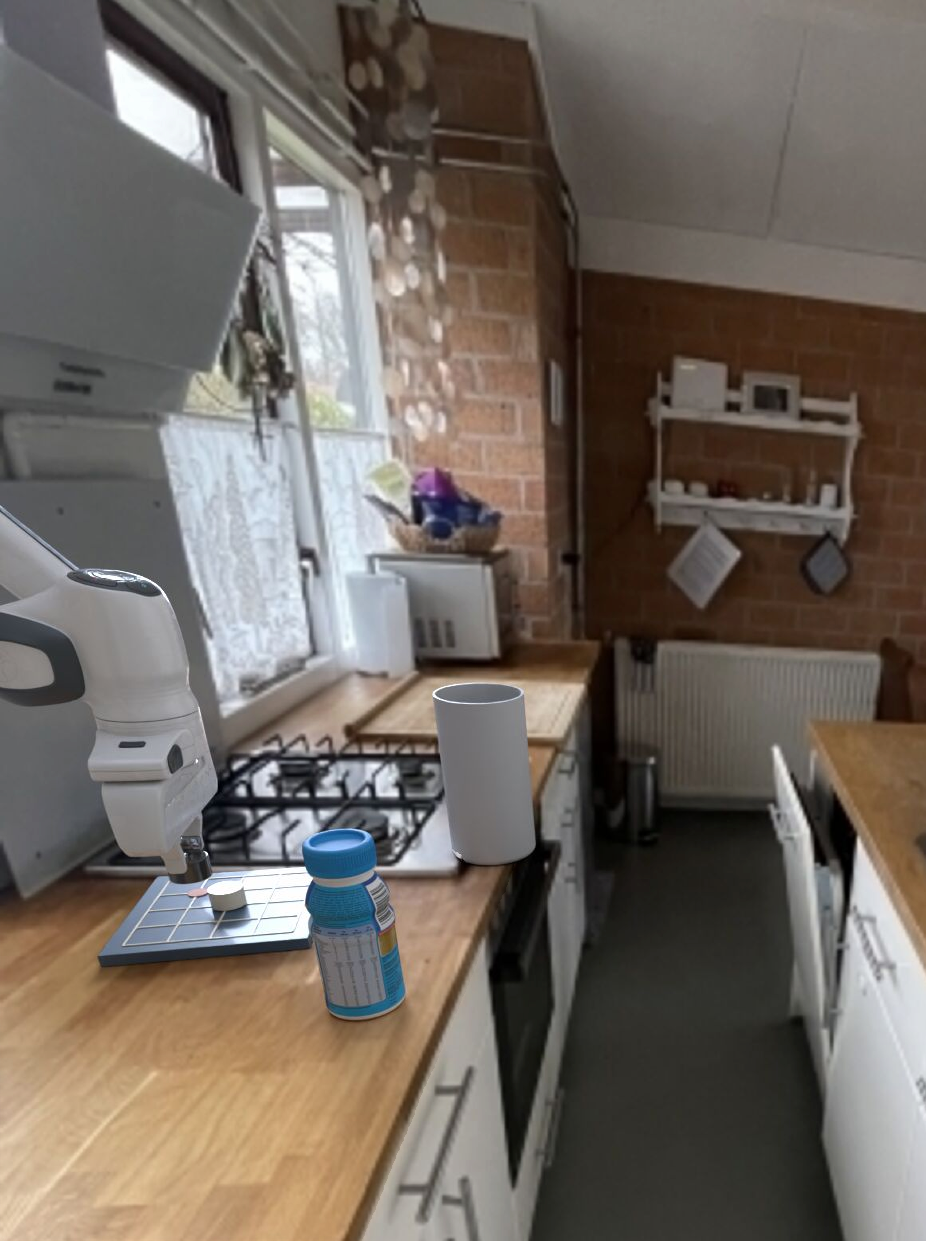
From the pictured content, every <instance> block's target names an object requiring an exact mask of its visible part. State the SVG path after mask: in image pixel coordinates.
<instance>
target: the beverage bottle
mask: <svg viewBox="0 0 926 1241" xmlns="http://www.w3.org/2000/svg"><path fill="white" fill-rule="evenodd" d="M375 844H376V843H375V840H374V838H373V836H372V835H371V834H370V833H369V832H367V831H365V830H362V829H356V828H335V829H329V830H325V831H321V832H317V833H314V834H312V835H310V836H308V837H307V838H306V839H304V840H303V841H302V844H301V853H302V859H303V863H304V867H306V871H307V872H308V874H309V876H311V877H312V878H313V879H312V881H311V883H310V885H309V887H308V889H307V892H306V897H305V907H306V910H307V911H308V912H309V913H310V914H311V915H310V917H309V920H308V928H309V933H310V935H311V936H312V939H313V941H312V944H313V947H314V948H313V949H314V952H315V957H316V962H317V966H318V970H319V975H320V980H321V984H322V990H323V993H324V1000H325V1005H326V1008H327V1011H328V1012H329V1013H330V1014H331V1015H333V1016H334V1017H336V1018H339V1019H342V1020H346V1021H365V1020H370V1019H376V1018H378V1017H381V1016H383V1015H386V1014H388V1013H390V1012H392V1011H393V1010H396V1008H398V1007H399V1006H400V1005H401V1004H402V1002H404V999H405V997H406V994H407V993H406V991H407V990H406V986H405V982H404V975H403V969H402V968H403V967H402V963H401V955H400V948H399V942H398V936H397V935H398V934H397V931H396V930H397V929H396V914H395V910H394V908H393V907H392V905H391V904H390V902H389V901H390V899H391V891H390V889H389V887H388V885H387V883H386V882H385V880H384V879H383V877H382V876H381V875H380V874H379V873H378V872H377V871H376V870H375V869H376V867H377V863H378V858H377V850H376V846H375Z"/></svg>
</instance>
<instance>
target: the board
mask: <svg viewBox="0 0 926 1241" xmlns="http://www.w3.org/2000/svg"><path fill="white" fill-rule="evenodd" d="M212 873H213V874H212V876H211V877H210V878H208V879H206V880H204V881H201V882H198V883H193V884H175V883H172V882H171V881H170V879H169V875H161V876H156V878H155V879H154V881H153V882H152V883H151V885H150V886H149V888H148V889H147V890H145V892H144V893H143V895H142V896H141V898H139V900H138V901H137V903H136V905H135V906H133V908H132V910H131V911H130V912H129V913H128V915H127V916H126V918H124V920H123V921H122V923H121V924H120V925H119V926H118V928H117V929H116V931H115V932H114V933H113V934H112V936H111V937H110V938H109V939H108V941H107V942H106V944H105V945H104V947H103V948H102V949H101V950H100V952H99V953H98V955H97V960H98V963H99V966H100V967H101V968H104V967H115V966H116V967H117V966H125V965H126V966H127V965H138V964H139V965H140V964H149V963H151V964H152V963H160V962H173V961H182V960H194V959H206V958H207V959H208V958H216V957H217V958H218V957H228V956H229V957H230V956H237V955H238V956H240V955H250V954H251V955H252V954H263V953H274V952H284V951H295V950H297V951H298V950H306V949H307V950H308V949H311V947H312V944H313V939H312V936H311V935H310V933H309V928H308V920H309V917H310V915H311V914H310V913H309V912H308V911H307V910H306V907H305V897H306V892H307V889H308V887H309V885H310V883H311V881H312V879H313V878H312V877H311V876H309V874H308V872H307V871H306V867H305V866H303V867H302V866H301V867H288V868H287V867H286V868H273V869H272V868H271V869H255V870H254V869H253V870H242V871H241V870H240V871H239V870H238V871H226V872H223V871H222V872H212ZM227 881H236V882H240V883H242V884H243V886H244V890H245V894H246V898H247V903H246V904H245V905H244V906H242V907H240V908H237V909H234V910H229V911H217V910H214V909H212V907H211V904H210V900H209V896H208V892H207V890H208V888H209V887H211V886H212V885H215V884H218V883H221V882H227Z"/></svg>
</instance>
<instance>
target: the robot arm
mask: <svg viewBox="0 0 926 1241" xmlns="http://www.w3.org/2000/svg"><path fill="white" fill-rule="evenodd" d="M0 585H1V586H2V588H4V589H5V590H7V591H8V592H10V594H12V595H13V596H14V597H16V598H17V599H19V600H16V601H12V602H9V603H5V604H0V700H3V701H5V702H8V703H10V704H12V705H16V706H20V707H28V708H33V707H34V708H35V707H50V706H55V705H61V704H66V703H71V702H83V703H86V704H87V705H88V706H90V708H91V711H92V713H93V718H94V720H95V724H96V728H97V730H96V731H95V741H94V745H93V747H92V751H91V752H90V754H89V757H88V758H87V770H88V773H89V776H90V779H91V780H92V781H93V782H102V784H101V789H100V790H101V799H102V802H103V806H104V809H105V813H106V816H107V819H108V822H109V824H110V827H111V830H112V833H113V835H114V838H115V841H116V843H117V845H118V847H119V848H120V849H121V851H122V852H123V853H124V854H125V855H126V856H127V857H130V858H147V857H161V859H162V860H163V863H164V866H165V871H166V872H167V874H168V873H170V874H183V873H185V872H186V871H187V869H188V867H189V866H190V863H189V860H188V855H187V853H184V852H183V851H187V850H201V851H203V848H204V847H205V842H204V838H203V813H202V811H203V810H204V809H205V807H206V806H207V805H208V804H209V802H210V801H211V800H212V798H213V797H214V796H215V794H216V793H217V792H218V785H219V784H218V775H217V773H216V768H215V766H214V763H213V759H212V756H211V751H210V747H209V743H208V739H207V734H206V730H205V726H204V721H203V717H202V713H201V709H200V705H199V702H198V700H197V698H196V696H195V694H194V693H193V690H192V688H191V686H190V679H189V676H190V661H189V657H188V653H187V649H186V644H185V641H184V638H183V633H182V631H181V627H180V624H179V621H178V619H177V616H176V613H175V611H174V609H173V608H174V607H172V606H173V605H172V604H171V602H170V601H169V598H168V597H167V595H166V593H165V592H164V591H163V589H162V588H161V586H159V585H158V584H157V583H155V582H154V581H153V580H150V579H148V578H147V577H144V576H141V575H138V574H135V573H131V572H127V571H123V570H116V569H102V568H82V569H81V568H79V567H78V566H76V565H75V564H74V563H72V562H71V561H70V560H68V558H66V557H65V556H64V555H63V554H61V553H60V552H58V551H57V550H56V549H55V548H53V547H52V546H51V545H50V544H48V543H47V542H46V541H45V540H44V539H43V538H42V537H40V536H39V535H37V534H36V533H35V532H34V531H33V530H31V529H30V528H29V527H28V526H26V525H25V524H24V523H22V522H21V521H20V520H19V519H17V517H15V516H14V515H13V514H12V513H10V512H9V511H8V510H7V509H6V508H4V507H3V506H1V505H0Z"/></svg>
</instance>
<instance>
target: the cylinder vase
mask: <svg viewBox="0 0 926 1241" xmlns="http://www.w3.org/2000/svg"><path fill="white" fill-rule="evenodd" d="M432 701H433V710H434V718H435V726H436V734H437V742H438V749H439V757H440V765H441V772H442V781H443V782H442V783H443V789H444V796H445V806H446V814H447V820H448V828H449V837H450V845H451V850H452V849H453V850H454V851H455V852H458V853H459V854H461V855H462V858H463V860H464V861H465V862H464V861H463V862H464V863H467V864H472V865H477V866H499V865H506V864H511V863H515V862H517V861H521V860H523V859H524V858H527V857H529V855H531V854H532V853H533V852H534V850H535V848H536V844H537V842H536V830H535V817H534V806H533V805H534V804H533V794H532V792H533V791H532V780H531V768H530V767H531V766H530V753H529V743H528V729H527V718H526V716H527V715H526V705H525V692H524V690H523V689H522V688H520V687H518V686H514V685H510V684H506V683H497V682H495V683H494V682H466V683H456V684H451V685H446V686H441V687H439V688H437V689H435V690H433V692H432Z"/></svg>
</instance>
